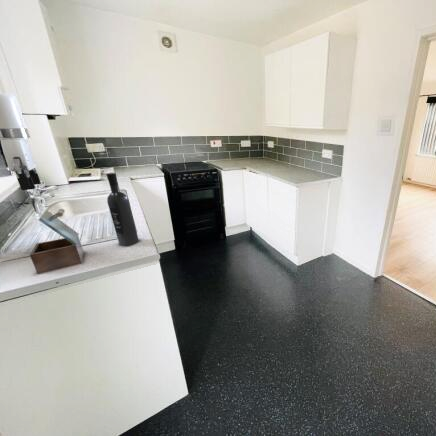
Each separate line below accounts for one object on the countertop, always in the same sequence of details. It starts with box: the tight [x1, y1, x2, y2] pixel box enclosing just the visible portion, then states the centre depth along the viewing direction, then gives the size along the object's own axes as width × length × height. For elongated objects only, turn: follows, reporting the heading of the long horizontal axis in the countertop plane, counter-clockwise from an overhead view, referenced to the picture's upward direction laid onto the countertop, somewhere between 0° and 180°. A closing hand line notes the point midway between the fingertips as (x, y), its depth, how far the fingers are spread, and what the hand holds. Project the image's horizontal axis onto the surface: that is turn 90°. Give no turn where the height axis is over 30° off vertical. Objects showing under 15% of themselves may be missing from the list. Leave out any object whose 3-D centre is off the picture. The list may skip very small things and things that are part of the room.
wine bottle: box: [105, 172, 140, 247], centre depth 98 cm, size 6×6×30 cm
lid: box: [38, 208, 79, 245], centre depth 87 cm, size 12×11×5 cm
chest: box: [29, 236, 85, 275], centre depth 88 cm, size 12×11×8 cm
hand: (32, 186), depth 84 cm, fingers open, 9 cm apart
